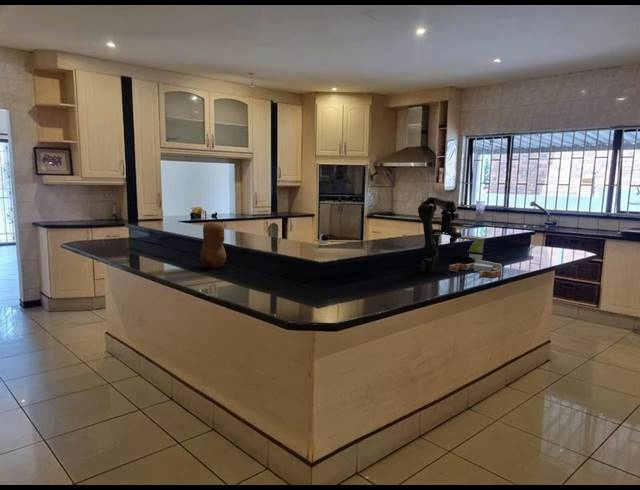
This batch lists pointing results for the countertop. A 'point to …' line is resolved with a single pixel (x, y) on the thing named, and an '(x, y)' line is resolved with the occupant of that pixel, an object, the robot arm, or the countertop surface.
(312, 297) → the countertop surface
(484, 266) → the block
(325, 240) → the container
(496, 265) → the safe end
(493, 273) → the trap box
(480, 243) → the tea box
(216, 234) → the butternut squash
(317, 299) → the countertop surface
